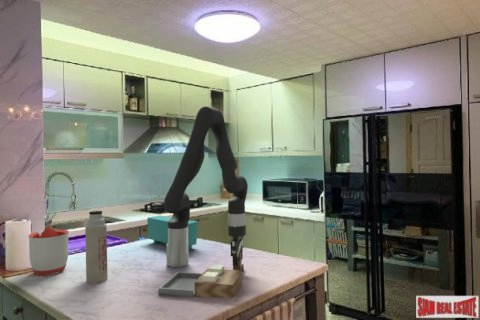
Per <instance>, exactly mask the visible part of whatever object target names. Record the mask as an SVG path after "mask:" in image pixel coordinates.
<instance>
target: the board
mask: <svg viewBox="0 0 480 320" xmlns="http://www.w3.org/2000/svg"><path fill="white" fill-rule="evenodd" d="M210 268H211V267H210ZM210 268H209V267H208V268H207V269H206V270H205V271H204V272H202V273H203V274H202V275H201V276H200V277H199V278H198V279H197V280H196V281H195V282H194V283H195V296H194V297H200V298H212V299H224V298H226V300H227V299H228V300H234V298H235V296H236V295H237V293H238V291H239V290H240V288H241V286H242V285H243V272H242V270H233V269H225V268H224V272H223V273H222V274H221V275H219V278H218V279H217V281H216V282H203V275H204V274H205V273H206V272H210Z"/></svg>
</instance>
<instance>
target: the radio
mask: <svg viewBox="0 0 480 320" xmlns="http://www.w3.org/2000/svg"><path fill="white" fill-rule="evenodd" d="M171 218H172V217H171V216H165V215H154V216H148V217H147V219H146V220H147V221H146V222H147V231H148V239H149V240H152V241H153V244H158V243H164V244H166V245H167V244H168V221H169V220H170V219H171ZM198 224H199V222H198V221H194V220H190V219H189V222H188V251H189V250H192V249H193V246H195V245H197V242H198V240H197V239H198Z"/></svg>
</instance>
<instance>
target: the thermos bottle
mask: <svg viewBox="0 0 480 320" xmlns="http://www.w3.org/2000/svg"><path fill="white" fill-rule="evenodd" d="M88 215H89V216H88V218H89V219H87V220H86V223H87V224H86V225H85V228H84V229H85V233H84V234H85V272H86V273H85V279H86V281H85V282H86V283H88V284H101V283H104V282H106V281H107V280H108V277H109V276H108V244H107V243H108V232H107V231H108V230H107V226H108V225H107V224H106V221H105V220H106V219H105V218H103V211H102V210H92V211H91V210H90V211H89V212H88Z"/></svg>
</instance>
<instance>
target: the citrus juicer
mask: <svg viewBox="0 0 480 320" xmlns="http://www.w3.org/2000/svg"><path fill="white" fill-rule="evenodd" d="M28 240H29V241H28V250H29V251H28V252H29V253H28V255H29V263H30V266H31V270H32V271H33V273H34V275H35V276H36V275H37V276H41V277H46V276H49V275H53V274H58V273H62V272H63V271H64V270H65V269H66V266H67V263H68V258H69V230H67V229H54V228H53V227H51V226H47V227H46V228H45V229H44V230H43V231H42V232H41V234H40V233H39V232H31V233H30V234H28Z"/></svg>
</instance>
